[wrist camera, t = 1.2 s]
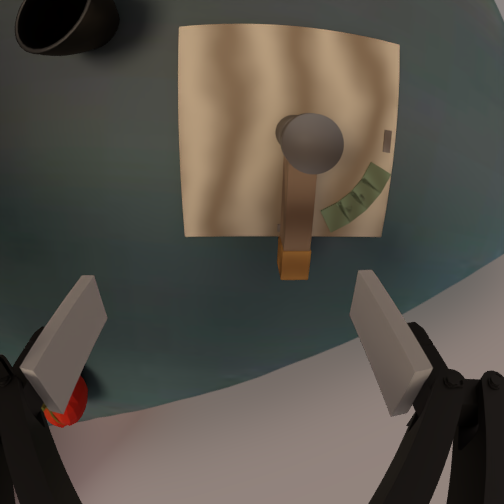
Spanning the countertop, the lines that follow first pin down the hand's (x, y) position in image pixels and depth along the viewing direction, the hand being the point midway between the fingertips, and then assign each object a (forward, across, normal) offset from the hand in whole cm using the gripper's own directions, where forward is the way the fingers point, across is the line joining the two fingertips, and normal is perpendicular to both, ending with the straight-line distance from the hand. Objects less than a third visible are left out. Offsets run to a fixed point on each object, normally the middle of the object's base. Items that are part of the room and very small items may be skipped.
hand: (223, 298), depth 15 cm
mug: (+19, -15, +22) cm, 32 cm away
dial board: (+19, +6, +6) cm, 21 cm away
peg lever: (+18, +6, +1) cm, 19 cm away
